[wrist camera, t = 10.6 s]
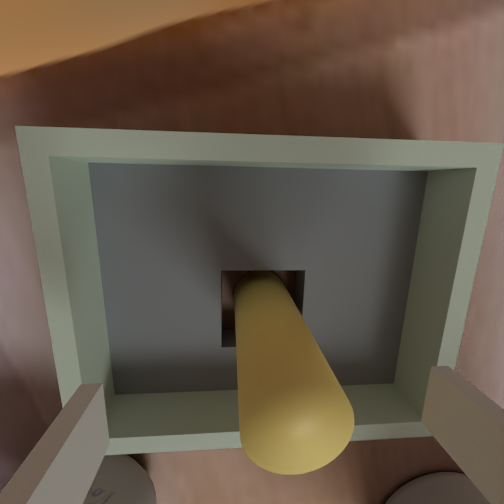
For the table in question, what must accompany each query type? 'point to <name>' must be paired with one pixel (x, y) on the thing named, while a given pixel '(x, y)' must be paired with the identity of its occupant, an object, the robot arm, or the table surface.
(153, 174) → the box
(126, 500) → the teacup
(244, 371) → the peg
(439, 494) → the cylinder vase
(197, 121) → the table surface
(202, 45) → the table surface
